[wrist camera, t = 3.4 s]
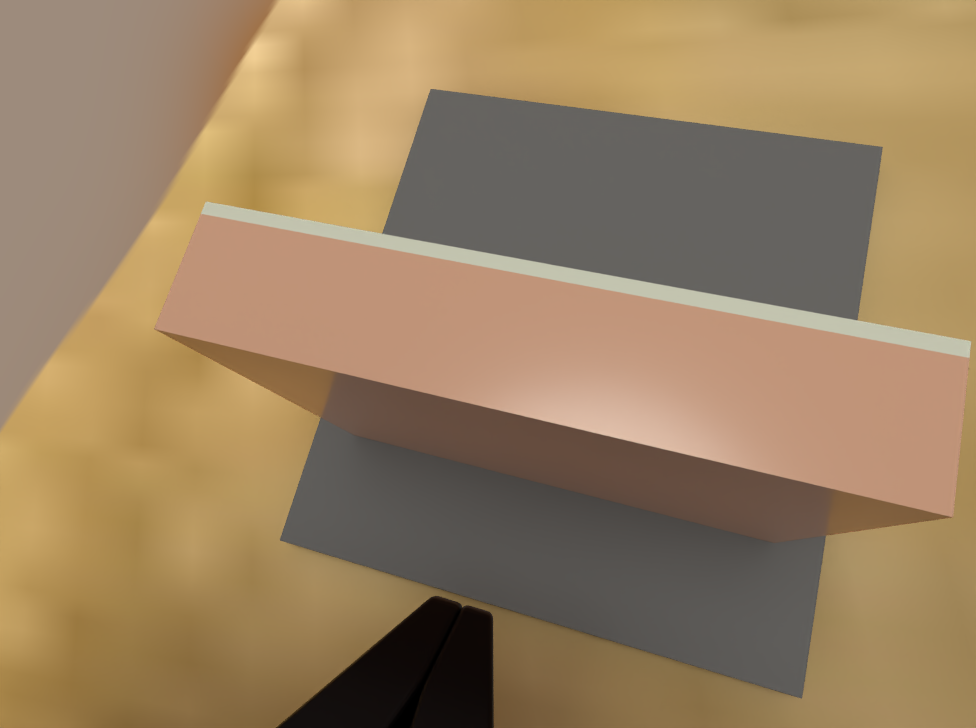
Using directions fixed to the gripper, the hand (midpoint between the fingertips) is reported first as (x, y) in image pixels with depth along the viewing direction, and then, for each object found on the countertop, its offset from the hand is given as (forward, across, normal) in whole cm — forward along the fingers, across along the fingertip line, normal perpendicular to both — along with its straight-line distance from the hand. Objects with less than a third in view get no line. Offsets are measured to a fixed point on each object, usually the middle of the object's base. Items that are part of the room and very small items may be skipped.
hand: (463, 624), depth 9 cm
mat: (+10, 0, +1) cm, 10 cm away
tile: (+7, 0, +2) cm, 7 cm away
